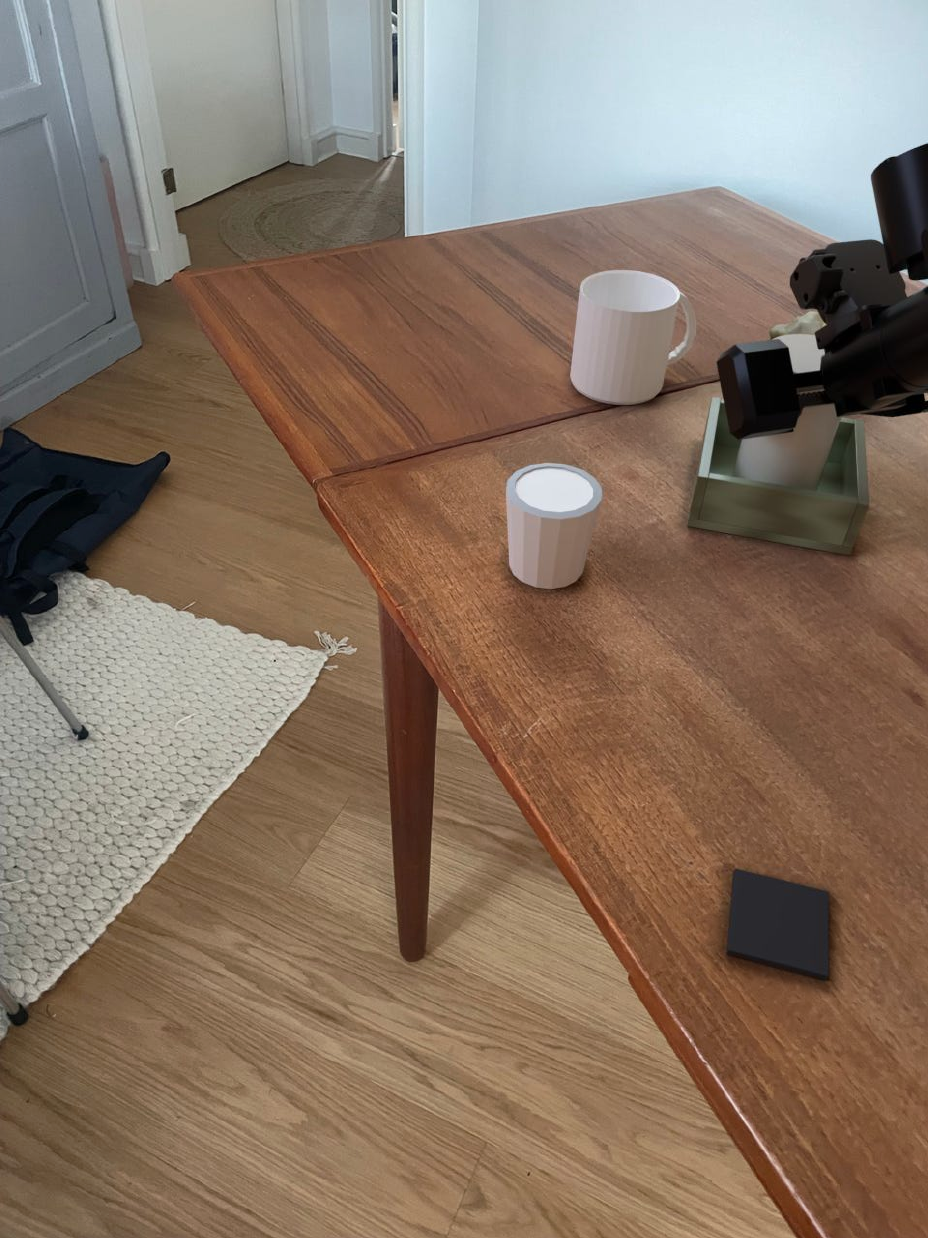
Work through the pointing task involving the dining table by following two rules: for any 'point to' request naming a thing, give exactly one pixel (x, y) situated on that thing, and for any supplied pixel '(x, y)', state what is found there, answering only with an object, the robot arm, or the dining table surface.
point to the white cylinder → (793, 433)
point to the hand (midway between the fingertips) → (784, 409)
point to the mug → (627, 335)
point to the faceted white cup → (550, 523)
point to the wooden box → (781, 492)
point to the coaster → (779, 924)
